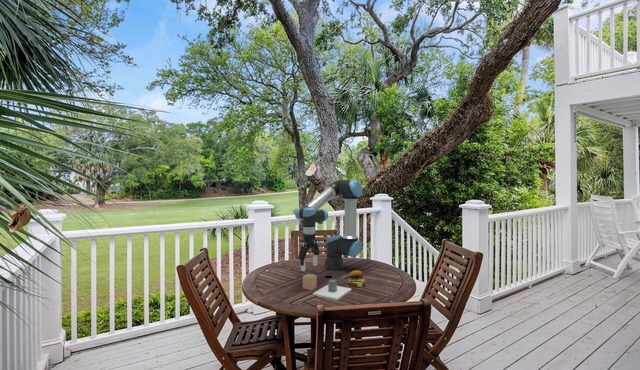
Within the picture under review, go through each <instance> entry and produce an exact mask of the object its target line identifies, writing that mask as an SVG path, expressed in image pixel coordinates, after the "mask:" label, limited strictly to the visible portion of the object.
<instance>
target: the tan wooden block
mask: <svg viewBox="0 0 640 370" xmlns="http://www.w3.org/2000/svg"><path fill="white" fill-rule="evenodd" d="M317 279H318V276H317V274H313V273H306V274H304V275H303V276H302V289H303V290H307V291H308V290H309V291H313V290H314V289H316V288H317V286H318V281H317Z"/></svg>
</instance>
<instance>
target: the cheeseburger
mask: <svg viewBox="0 0 640 370" xmlns="http://www.w3.org/2000/svg"><path fill="white" fill-rule="evenodd" d="M348 278H349V280H348V283H349V284H350V286H352V287H358V288H361V287H363V286H365V284H366V279H365V278H364V273H363V271H361V270H353V271H351V272H350V273H349V275H348Z"/></svg>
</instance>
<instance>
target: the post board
mask: <svg viewBox="0 0 640 370" xmlns="http://www.w3.org/2000/svg"><path fill="white" fill-rule="evenodd" d="M351 292H352V288H350V287H346V286H340V285H338V280H336V279H330V280H328V284H326V285H325V286H323V287H321V288H319V289H318V290H316V291H314V292H313V293H312V295H313V296H315V297H316V296H317V297H320V298H321V297H322V298H325V299H330V300H333V301H334V300H335V301H339V300H340V299H341V298H343V297H344V296H346V295H347V294H348V293H351Z"/></svg>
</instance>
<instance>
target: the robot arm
mask: <svg viewBox="0 0 640 370" xmlns="http://www.w3.org/2000/svg"><path fill="white" fill-rule="evenodd" d="M362 194H363V186H362V184H361V182H360V181H359V180H355V179H339V180H335V181H334V182H331V183H329V184H328V185H327V186H326V187H324V190H323V191H322V192H320V193H319V194H318V195H317V196H316V197H315V198H313V199H312V200H310V201H309V203H307V204H305V206H304V207H299V208H297V209H296V210H295V212H294V216H295V218H296V219H297V220H300V221H302V224H303V225H302V228H303V229H302V233H303V234H302V240H303V241H304V242H301V245H300V249H299V255H298V258H297V259H298V260H300V271H302V272H305V271H306V256H307V254H308V252H309V250H311V252H312V253H313V255H312V266H315V267H317V266H318V256H320V250H319V245H318V239H316V233H317V232H316V223H322V222H326V221H327V220H328V218H329V212H328V211H327V210H326V209H324V208H322V207H323V206H324V205H326V204H327V203H328V202H329V201H330V200H333V199H335V197H340V196H341V197H342V200H343V201H344V219H343V220H344V225H343V226H344V228H343V233H344V234H343V235H332V236H328V237H326V241H325V242H326V243H325V244H326V245H325V246H326V258H325V261H324V264H323V267H324V269H325V270H329V271H339V270H344V269H345V266H346V265H345V261H344V258H343V256H346V257H347V256H348V257H351V258H352V257H355V258H356V257H358V256H359V254H360V253H361V251H362V248H363V247H362V245H363V243H362V242H361V240H359V236H358V235H357V222H358V221H357V219H358V218H357V214H358V212H357V211H358V210H357V207H358V201H359V199H360V197H361V196H362Z"/></svg>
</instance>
